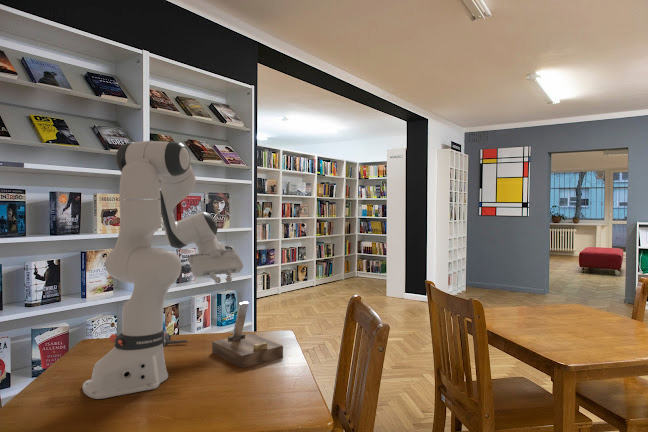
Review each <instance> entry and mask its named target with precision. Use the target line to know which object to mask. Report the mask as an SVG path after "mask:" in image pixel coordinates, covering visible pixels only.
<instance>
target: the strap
mask: <svg viewBox="0 0 648 432" xmlns="http://www.w3.org/2000/svg"><path fill="white" fill-rule="evenodd" d="M248 308H249V302H248V301H243V302H239V304H238V309H237V312H236V319H235V324H234V326H233V332H232V335H231V336H232V337H233V339H238V338H241V336H242V334H243V331H244V325H245V321H246V316H247V311H248Z"/></svg>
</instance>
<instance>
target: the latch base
mask: <svg viewBox="0 0 648 432" xmlns="http://www.w3.org/2000/svg"><path fill="white" fill-rule="evenodd" d="M232 336H233V335H231V336H228V337H227V338H221V339H217V340H212V342H211V347H212V348H211V353H212V354H214V355H216V356H218V357H219V358H222V359H224V360H225V361H227V362H228V363H229V362H230V363H231V364H233V365H235V366H237V367H238V368H241V369H245V368H248V367H252V366H257V365H259V364H263V363H267V362H271V361H274V360H279V359H282V358H284V345H282V344H280V343H276V342H275V341H272V340H269V339H267V338H265V337H261V336H260V335H256V334H254V333H252V332H251V333H247V334H245V333H242V336H241V338H238V339H233V337H232Z"/></svg>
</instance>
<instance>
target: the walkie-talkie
mask: <svg viewBox="0 0 648 432" xmlns="http://www.w3.org/2000/svg"><path fill="white" fill-rule="evenodd" d="M164 335H165V342H164V347H165V346H166V345H170V344H171V345H174V344H175V345H176V344H183V343H184V344H185V343H188V340H187V339H185V340H183V339H182V340H172V336H171V334H170V333H169V332H166V331H165V330H164Z"/></svg>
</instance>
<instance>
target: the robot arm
mask: <svg viewBox="0 0 648 432" xmlns="http://www.w3.org/2000/svg"><path fill="white" fill-rule="evenodd" d="M115 161H116V165H117V168H118V170H119V172H120V173H121V174H120V178H119V179H120V180H119V191H118V194H119V230H118V236H117V240H116V242H115V245H114V247H113V249H112V251H110V252H109V253H108V255H107V257H106V259H105V270H106V272H107V274H108V275H109V276H110V277H112V278H114V279H116V280H118V281H119V282H123V283H127V284H133V290H132V292H131V293H132V294H131V296H130V298H129V300H127V301H125V302H124V304H123V306H122V310H121V311H122V312H121V332H120V333H119V334H118V335H117V334H116V333H112V334H110V336H109V340H110V341H111V342H112V343H114V347H113V348H112V349H111V350H110V351H108V352H107V353H106V354H105V355H104V356H103V357H101V359H99V360H98V361H96V363H95V364H94V366H93V369H92V372H91V373H92V374H91V379H88V380H85V381H84V382H83V384H82V392H83V393H84V394H85V395H86V397H89V398H92V399H96V400H100V399H101V400H102V399H107V398H112V397H116V396H117V397H118V396H123V395H128V394H133V393H138V392H143V391H149V390H155V389H157V388H159V386H160V385H161V383H164V381H166V380H167V379H168V378H169V372H168V371H167V366H166V361H165V354H164V353H165V352H164V348H165V346H164V342H165V335H164V331H165V329H164V305H165V299H166V297H167V294H168V291H169V289H170V288H171V286H172V285H173V284H174V283H175V282H176V281H177V280H178V279H179V277H180V275H181V272H182V267H183V266H182V260H181V258H180V256H179V255H178V254H177V253H176V252H173V251H172V250H169V249H167V248H162V247H151V246H152V240H153V237H154V234H155V233H156V232H157V231H158V230H159V229H160V228H161V226H162V222H163V225H164V235H165V239H166V241H167V243H168V245H169V246H170V247H171V248H174V249H179V250H181V249H183V248H184V247H187V246H188V245H190V244H193V243H194V244H195V246H196V247H197V252H198V253H196V254H190V255H189V256H188V257H187V261H188V263H189V264H190V271H191V273H192V275H193V276H194V277H207V276H209V278H211V280H213V281H214V283H215V284H221V282H222V280H221V278H220V276H217V275H226V278H225V281H226V283H231V282H232V280H233V278H232V274H237V273H239V274H240V273H241V271H243V268H244V263H243V261H242V259H241V257H240V256H239V255H238V253H237V252H235V251H236V249H235V247H234V246H231V245H230V246H229V245H226V244H223V243H220V241H219V240H218V238H217V233H218V227H217V225H216V223H215V221H214V218H213V216H212V214H211V213H209V212H206V211H200V212H197V213H195V214H192V215H190V216H188V217H185V218H182V219H180V220H177V221H176V219H175V214H174V209H175V208H176V206H177V205H179V204H180V203H181V202H182V201H183V200H184V199H186V198H187V197H188V196H190V195H191V193H192V192H193V191H194V189H195V186H196V183H197V181H196V176H195V173H194V170H193V167H192V164H191V155H190V151H189V149H188V148H187V147H186V145H184V143H182V142H178V141H162V140H160V141H159V140H155V141H154V140H145V141H136V142H133V141H129V142H127V143H123V144H122V145H120V146H119V148H118V149H117V151H116V154H115ZM159 179H160V180H159ZM160 181H161V187H160Z"/></svg>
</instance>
